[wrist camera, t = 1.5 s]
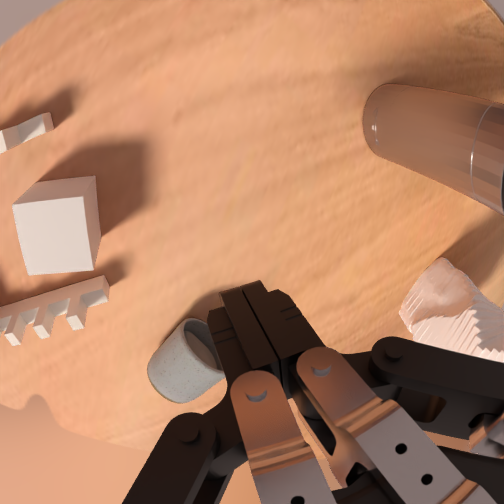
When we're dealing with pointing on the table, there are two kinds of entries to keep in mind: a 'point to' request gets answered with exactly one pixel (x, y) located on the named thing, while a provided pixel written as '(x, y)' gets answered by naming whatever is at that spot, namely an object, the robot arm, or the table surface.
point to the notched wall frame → (56, 301)
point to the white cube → (59, 225)
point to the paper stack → (453, 313)
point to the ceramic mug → (185, 363)
